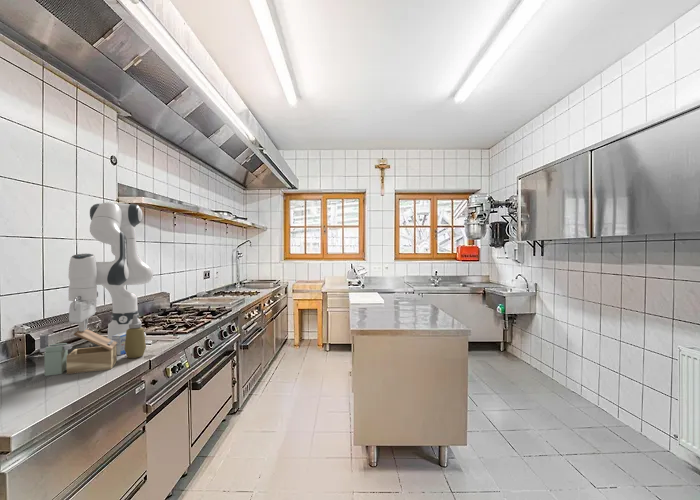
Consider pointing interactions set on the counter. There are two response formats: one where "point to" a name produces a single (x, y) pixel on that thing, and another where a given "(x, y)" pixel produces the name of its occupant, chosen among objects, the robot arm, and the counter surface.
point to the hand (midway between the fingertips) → (83, 330)
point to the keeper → (55, 359)
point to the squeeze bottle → (135, 339)
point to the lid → (96, 339)
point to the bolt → (45, 344)
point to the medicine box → (120, 343)
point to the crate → (91, 359)
